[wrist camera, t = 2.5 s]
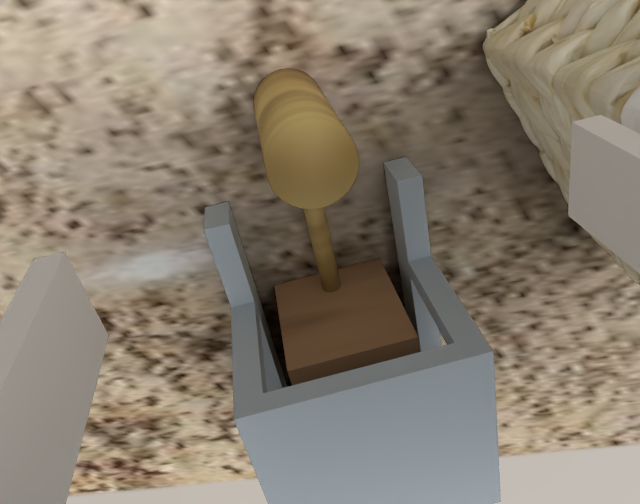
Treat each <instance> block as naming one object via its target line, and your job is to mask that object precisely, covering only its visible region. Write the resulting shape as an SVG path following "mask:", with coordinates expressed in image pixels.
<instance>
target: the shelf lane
mask: <svg viewBox="0 0 640 504" xmlns="http://www.w3.org/2000/svg"><path fill="white" fill-rule="evenodd" d="M384 169H385V176H386V182H387V189H388V196H389V202H390V209H391V216H392V222H393V229H394V236H395V242H396V249H397V256H398V262H399V269H400V276H401V282H402V289H403V296H404V302H405V309H406V313H407V315H408V317H409V319H410V321H411V323H412V325H413V327H414V329H415V331H416V333H417V336H418V339H419V346H420V352H418V353H414V354H411V355H407V356H403V357H399V358H395V359H392V360H388V361H384V362H380V363H376V364H373V365H369V366H365V367H361V368H357V369H354V370H350V371H346V372H342V373H338V374H335V375H331V376H327V377H323V378H319V379H315V380H312V381H308V382H304V383H300V384H296V385H293V386H289V387H287V384H286V381H285V378H284V375H283V371H282V368H281V365H280V362H279V359H278V356H277V353H276V349H275V346H274V343H273V340H272V337H271V334H270V331H269V327H268V324H267V321H266V318H265V315H264V312H263V309H262V305H261V302H260V299H259V296H258V293H257V290H256V287H255V283H254V280H253V277H252V274H251V271H250V268H249V265H248V261H247V258H246V255H245V252H244V249H243V246H242V243H241V239H240V236H239V233H238V230H237V227H236V224H235V221H234V217H233V214H232V211H231V208H230V205H229V202H224V203H220V204H216V205H212V206H208V207H205V214H204V233H205V236H206V239H207V241H208V244H209V247H210V250H211V253H212V255H213V258H214V261H215V264H216V267H217V270H218V272H219V275H220V278H221V281H222V284H223V286H224V289H225V292H226V295H227V298H228V301H229V303H230V306H231V328H232V362H233V397H234V421H235V423H236V426H237V428H238V431H239V433H240V435H241V438H242V440H243V443H244V445H245V448H246V450H247V453H248V455H249V458H250V460H251V463H252V465H253V468H254V470H255V473H256V475H257V478H258V480H259V482H260V485H261V487H262V490H263V492H264V495H265V497H266V500H267V502H268V504H494V503H498V502H501V498H500V477H499V476H500V475H499V454H498V434H497V413H496V393H495V372H494V352H493V350H492V348H491V347H490V345H489V344H488V342H487V341H486V339H485V338H484V336H483V335H482V333H481V331H480V330H479V328H478V327H477V325H476V324H475V322H474V321H473V319H472V318H471V316H470V315H469V313H468V312H467V310H466V309H465V307H464V305H463V304H462V302H461V301H460V299H459V298H458V296H457V295H456V293H455V292H454V290H453V289H452V287H451V286H450V284H449V283H448V281H447V279H446V278H445V276H444V275H443V273H442V272H441V270H440V269H439V267H438V266H437V264H436V263H435V261H434V260H433V258H432V256H431V251H430V242H429V233H428V224H427V215H426V206H425V197H424V189H423V180H422V175H421V173H420V172H419V171H418V170H417V169H416V167H415V166H414V165H413V164H412V163H411V161H410V160H409V159H408V158H407V157H403V158H399V159H395V160H392V161H388V162H384ZM440 332H441V334H442V336H443V338H444V339H445V341H446V343H447V345H445V346H441V339H440Z"/></svg>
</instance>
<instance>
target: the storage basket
mask: <svg viewBox="0 0 640 504" xmlns="http://www.w3.org/2000/svg"><path fill="white" fill-rule="evenodd" d="M483 50H484V53H485V55H486V61H487V64H488V67H489V69H490V71H491V72H492V74H493V76H494V77H495V79H496V80H497V82H498V83H499V84H500V85H501V86H502V88H503V92H504V96H505V98H506V100H507V102H508V103H509V105H510V106H511V107H512V109H513V110H514V112H515V113H516V114H517V116H518V117H519V119H520V122H521V124H522V127H523V129H524V131H525V132H526V134H527V136H528V137H529V139H530V140H531V142H532V143H533V144H534V145H536V146H537V147H538V149H539V150H540V154H539V155H540V158H541V160H542V162H543V164H544V166H545V168H546V170H547V172H548V173H549V174H550V175H551V177H552V178H553V179H554V180H555V181H556V182H557V183H558V184H559V186H560V190H561V192H562V194H563V196H564V198H565V200H566V202H567V203H568V205H569V184H570V161H571V138H572V122H574V121H578V120H582V119H586V118H590V117H594V116H598V115H602V116H604V117H606V118H608V119H610V120H612V121H615V122H617V123H619V124H621V125H623V126H625V127H627V128H629V129H631V130H633V131H635V132H637V133H639V134H640V0H527V1H526V3H525V4H524V5H523V6H522V7H521V8H520V9H518V10H517V11H516V12H514V13H513V14H512V15H511V16H509V17H508V18H507V19H506V20H504V21H503V22H502V23H501V24H499V25H498V26H496V27H495V28H490V29H488V30H487V38H486V40H485V41H484V43H483ZM583 229H584V228H583ZM584 230H585V229H584ZM585 231H586V230H585ZM587 232H588V231H587ZM588 233H589V232H588ZM589 234H590V233H589ZM590 235H591V234H590ZM591 237H592V238H593V239H594V240H595V241H596V242H597V243H598V244H599V245H600V246H602V247H603V248H604V249H605V250H606V251H607V253H608V254H609V255H611V256H612V258H613V260H614V261H615V262H616V263H617V264H618V266H620V267H622V268H623V269H624V271H625V272H626V273H627V275H628V276H629V277H630V278H631V279H632V280H633V281H635V282H636V283H638V284H639V285H640V274H639V273H638V272H637V271H636V270H634V269H633V268H632V267H631V266H629V265H628V264H627V263H626V262H625V261H623V260H622V259H621V258H620V257H618V256H617V255H616V254H615V253H613V252H612V251H611V250H610V249H609V248H607V247H606V246H605V245H604V244H602V243H601V242H600V241H599V240H597V239H596V238H595V237H594V236H593V235H591Z"/></svg>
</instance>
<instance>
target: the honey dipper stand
mask: <svg viewBox="0 0 640 504" xmlns="http://www.w3.org/2000/svg"><path fill="white" fill-rule="evenodd" d="M254 112H255V117H256V122H257V127H258V133H259V138H260V143H261V148H262V153H263V159H264V164H265V169H266V174H267V179H268V182H269V184H270V186H271V188H272V189H273V191H274V192H275V194H276V195H277V196H278V197H279V198H280V199H282V200H283V201H284V202H286V203H288V204H290V205H292V206H295V207H298V208H303V210H304V214H305V218H306V222H307V226H308V230H309V235H310V239H311V243H312V247H313V251H314V255H315V259H316V263H317V268H318V272H319V274H316V275H312V276H308V277H304V278H300V279H296V280H292V281H288V282H284V283H280V284H277V285H274V287H275V293H276V300H277V307H278V313H279V320H280V326H281V333H282V339H283V346H284V352H285V359H286V365H287V372H288V375H289V378H290V381H291V384H292V386H293V385H296V384H300V383H304V382H308V381H312V380H315V379H319V378H323V377H327V376H331V375H335V374H338V373H342V372H346V371H350V370H354V369H357V368H361V367H365V366H369V365H373V364H376V363H380V362H384V361H388V360H392V359H395V358H399V357H403V356H407V355H411V354H414V353H418V352H420V346H419V339H418V336H417V333H416V331H415V329H414V327H413V325H412V323H411V321H410V319H409V317H408V315H407V313H406V311H405V309H404V307H403V305H402V303H401V301H400V299H399V297H398V295H397V293H396V290H395V288H394V286H393V284H392V282H391V280H390V278H389V276H388V274H387V272H386V270H385V268H384V266H383V264H382V262H381V260H380V258H378V259H374V260H370V261H366V262H362V263H359V264H355V265H351V266H347V267H343V268H339V269H338V268H337V264H336V259H335V255H334V250H333V246H332V241H331V236H330V232H329V227H328V223H327V218H326V214H325V209H324V207H325V206H328V205H331V204H333V203H334V202H336V201H338V200H339V199H340V198H342V197H343V196H344V195H345V194H346V193H347V192H348V191H349V189H350V188H351V187H352V185H353V183H354V181H355V179H356V176H357V173H358V168H359V156H358V152H357V148H356V146H355V144H354V142H353V140H352V138H351V137H350V135H349V134H348V132H347V131H346V129H345V127H344V126H343V124H342V123H341V121H340V119H339V118H338V116H337V115H336V113H335V112H334V110H333V108H332V107H331V105H330V104H329V102H328V101H327V99H326V97H325V96H324V94H323V93H322V91H321V90H320V88H319V86H318V85H317V83H316V82H315V81H314V80H313V79H312V78H311V77H310V76H309V75H308V74H306V73H304V72H303V71H300V70H297V69H290V68H287V69H280V70H277V71H274V72H272V73H270V74H269V75H267V76H266V77H265V78H264V79H263V80H262V81H261V83H260V84H259V85H258V87H257V89H256V92H255V95H254Z"/></svg>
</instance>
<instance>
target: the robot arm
mask: <svg viewBox="0 0 640 504" xmlns="http://www.w3.org/2000/svg"><path fill="white" fill-rule="evenodd" d="M568 216H569V217H570V218H572V219H573V220H574V221H575V222H577V223H578V224H579V225H580V226H581V227H583V228H584V229H585V230H586V231H588V232H589V233H590V234H591V235H593V236H594V237H595V238H596V239H597V240H599V241H600V242H601V243H602V244H604V245H605V246H606V247H607V248H609V249H610V250H611V251H612V252H613V253H615V254H616V255H617V256H618V257H620V258H621V259H622V260H623V261H625V262H626V263H627V264H628V265H629V266H631V267H632V268H633V269H634V270H636V271H637V272H638V273H639V274H640V134H639V133H637V132H635V131H633V130H631V129H629V128H627V127H625V126H623V125H621V124H619V123H617V122H615V121H612V120H610V119H608V118H606V117H604V116H602V115H598V116H594V117H590V118H586V119H582V120H578V121H574V122H572V138H571V161H570V184H569V207H568ZM108 337H109V335H108V334H107V332H106V330H105V328H104V326H103V324H102V322H101V320H100V318H99V316H98V314H97V312H96V311H95V309H94V307H93V305H92V303H91V301H90V299H89V297H88V295H87V293H86V291H85V289H84V288H83V286H82V284H81V282H80V280H79V278H78V276H77V274H76V272H75V270H74V268H73V266H72V265H71V263H70V261H69V259H68V257H67V255H66V253H65V251H64V252H60V253H56V254H52V255H49V256H45V257H41V258H37V259H34V260H33V262H32V264H31V265H30V267H29V269H28V271H27V273H26V275H25V277H24V278H23V280H22V282H21V284H20V286H19V288H18V289H17V291H16V293H15V295H14V297H13V299H12V301H11V302H10V304H9V306H8V308H7V310H6V312H5V314H4V315H3V317H2V319H1V321H0V504H66V501H67V497H68V493H69V489H70V485H71V481H72V477H73V473H74V469H75V465H76V462H77V458H78V454H79V450H80V446H81V442H82V438H83V434H84V430H85V426H86V423H87V419H88V415H89V411H90V407H91V403H92V399H93V395H94V391H95V387H96V383H97V380H98V376H99V372H100V368H101V364H102V360H103V356H104V352H105V348H106V344H107V341H108Z"/></svg>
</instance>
